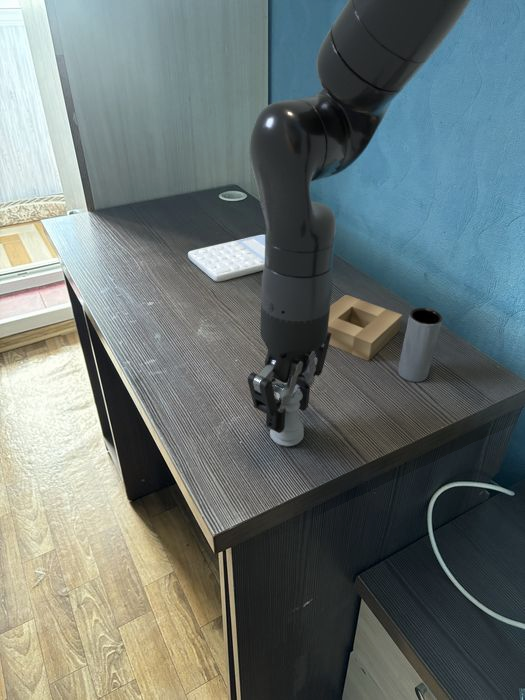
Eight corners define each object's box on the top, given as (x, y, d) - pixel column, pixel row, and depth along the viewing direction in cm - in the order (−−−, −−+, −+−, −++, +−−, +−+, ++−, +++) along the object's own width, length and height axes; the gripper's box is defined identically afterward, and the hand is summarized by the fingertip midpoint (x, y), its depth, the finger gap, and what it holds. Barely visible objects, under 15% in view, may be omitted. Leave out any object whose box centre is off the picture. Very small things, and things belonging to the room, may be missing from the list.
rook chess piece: (308, 430, 69) (313, 383, 64) (296, 452, 65) (300, 404, 61) (277, 420, 70) (280, 373, 65) (263, 441, 67) (265, 394, 62)
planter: (398, 380, 78) (410, 322, 72) (396, 362, 81) (408, 306, 75) (429, 384, 77) (444, 325, 71) (426, 366, 81) (440, 309, 75)
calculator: (186, 258, 110) (185, 250, 109) (265, 239, 119) (265, 232, 118) (215, 283, 101) (215, 275, 100) (298, 261, 110) (299, 253, 109)
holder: (398, 332, 89) (402, 314, 87) (368, 361, 81) (371, 343, 79) (343, 311, 94) (345, 294, 92) (310, 336, 87) (312, 319, 85)
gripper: (285, 341, 49) (278, 464, 59) (358, 287, 59) (342, 401, 69) (226, 315, 53) (228, 435, 63) (303, 267, 62) (295, 378, 72)
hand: (287, 417), depth 66 cm, fingers open, 4 cm apart
